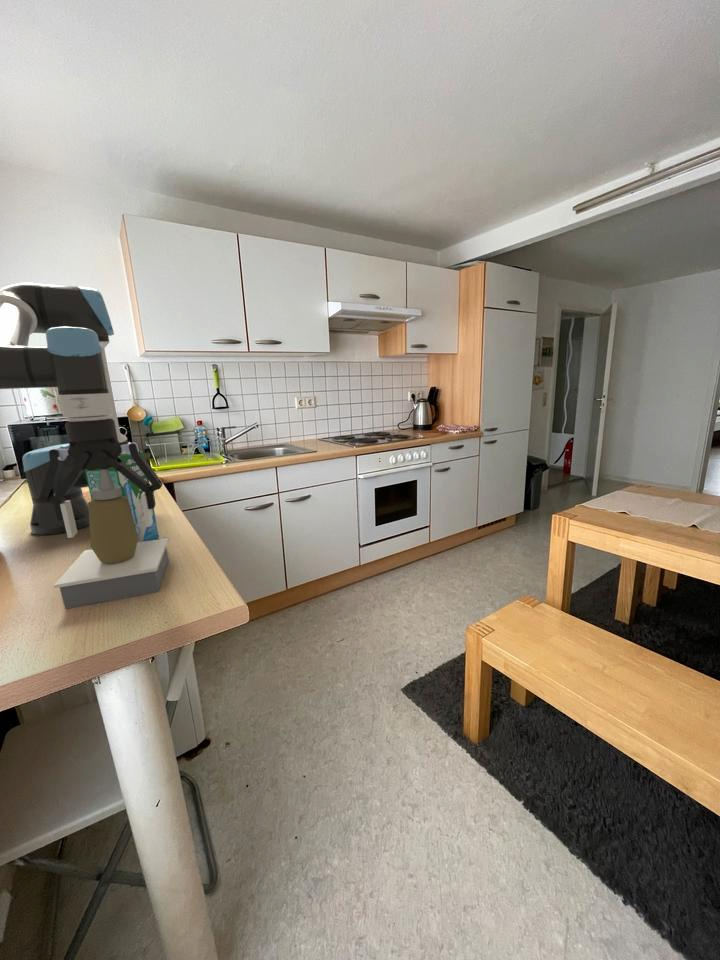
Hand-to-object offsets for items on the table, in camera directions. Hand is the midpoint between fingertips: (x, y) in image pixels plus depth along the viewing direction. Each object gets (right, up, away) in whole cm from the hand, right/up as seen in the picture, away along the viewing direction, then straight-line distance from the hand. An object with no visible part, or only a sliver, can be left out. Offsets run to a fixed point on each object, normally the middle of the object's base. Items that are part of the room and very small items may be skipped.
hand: (112, 530), depth 75 cm
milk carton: (-10, -6, +23) cm, 26 cm away
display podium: (0, -11, +3) cm, 11 cm away
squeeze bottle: (0, -6, +1) cm, 6 cm away
